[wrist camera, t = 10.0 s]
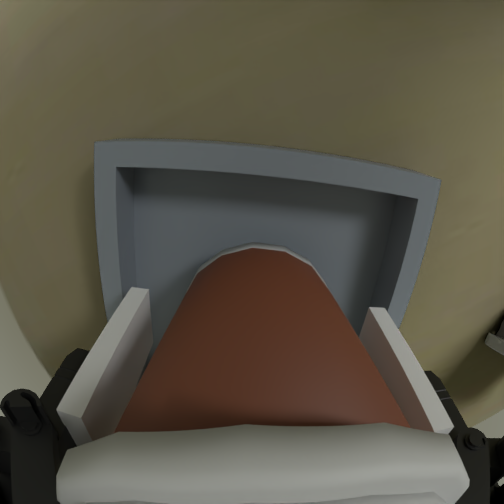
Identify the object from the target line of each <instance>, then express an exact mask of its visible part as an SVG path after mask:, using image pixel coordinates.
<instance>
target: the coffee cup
mask: <svg viewBox="0 0 504 504" xmlns="http://www.w3.org/2000/svg"><path fill="white" fill-rule="evenodd" d="M469 481H470V479H469V477H468V475H467V472H466V470H465V467H464V465H463V463H462V460H461V458H460V456H459V454H458V452H457V450H456V447H455V445H454V443H453V441H452V439H451V437H450V435H448V434H442V433H435V432H430V431H424V430H418V429H413V428H411V427H410V425H409V423H408V422H407V420H406V418H405V416H404V414H403V413H402V411H401V409H400V407H399V406H398V404H397V402H396V400H395V399H394V397H393V395H392V393H391V392H390V390H389V388H388V386H387V385H386V383H385V381H384V379H383V378H382V376H381V374H380V373H379V371H378V369H377V367H376V366H375V364H374V362H373V361H372V359H371V357H370V356H369V354H368V352H367V351H366V349H365V347H364V346H363V344H362V342H361V341H360V339H359V337H358V336H357V334H356V332H355V331H354V329H353V328H352V326H351V324H350V323H349V321H348V319H347V318H346V316H345V315H344V313H343V311H342V310H341V308H340V307H339V305H338V303H337V302H336V300H335V299H334V297H333V295H332V294H331V292H330V291H329V289H328V287H327V285H326V283H325V281H324V279H323V278H322V277H321V275H320V274H319V273H318V271H317V270H316V269H315V267H314V266H313V265H312V263H311V262H310V261H309V259H307V258H305V257H303V256H301V255H300V254H298V253H296V252H294V251H292V250H290V249H289V248H287V247H285V246H283V245H274V244H266V243H258V242H250V243H246V244H242V245H238V246H234V247H231V248H227V249H223V250H221V251H220V252H219V253H217V254H216V255H215V256H213V257H212V258H211V259H209V260H208V261H207V262H205V263H204V264H203V265H201V266H200V267H199V269H198V271H197V272H196V274H195V276H194V278H193V280H192V282H191V284H190V285H189V287H188V289H187V292H186V294H185V296H184V298H183V300H182V302H181V304H180V305H179V307H178V309H177V311H176V313H175V315H174V316H173V318H172V320H171V322H170V324H169V326H168V328H167V329H166V331H165V333H164V335H163V337H162V339H161V341H160V343H159V345H158V346H157V348H156V350H155V352H154V354H153V356H152V358H151V360H150V362H149V364H148V366H147V368H146V369H145V371H144V373H143V375H142V377H141V379H140V381H139V383H138V385H137V387H136V389H135V391H134V393H133V395H132V397H131V399H130V401H129V403H128V405H127V407H126V409H125V411H124V413H123V415H122V417H121V419H120V421H119V423H118V425H117V427H116V429H115V431H114V433H113V434H111V435H109V436H106V437H103V438H100V439H98V440H95V441H92V442H89V443H86V444H83V445H80V446H77V447H74V448H71V449H68V450H67V452H66V454H65V456H64V459H63V461H62V463H61V466H60V468H59V470H58V473H57V475H56V494H57V501H59V502H60V504H455V503H456V501H457V500H458V499H459V498H460V497H461V496H462V495H463V493H464V492H465V491H466V490H467V489H468V487H469Z"/></svg>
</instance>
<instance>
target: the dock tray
mask: <svg viewBox="0 0 504 504" xmlns="http://www.w3.org/2000/svg"><path fill="white" fill-rule="evenodd" d="M440 185H441V180H440V179H437V178H435V177H432V176H429V175H426V174H423V173H420V172H417V171H413V170H409V169H405V168H400V167H396V166H391V165H387V164H382V163H377V162H372V161H367V160H362V159H356V158H351V157H345V156H339V155H333V154H327V153H320V152H314V151H307V150H300V149H292V148H284V147H275V146H266V145H257V144H246V143H235V142H221V141H206V140H186V139H112V140H105V141H97V142H95V144H94V196H95V219H96V234H97V247H98V257H99V267H100V275H101V283H102V291H103V298H104V304H105V310H106V317H107V322H109V320H110V319H111V317H112V316H113V314H114V312H115V311H116V309H117V308H118V306H119V305H120V303H121V302H122V300H123V299H124V297H125V296H126V294H127V293H128V291H129V290H130V288H131V287H135V288H143V289H149V298H150V311H151V323H152V333H153V345H152V347H151V350H150V352H149V355H148V357H147V360H146V362H145V365H144V367H143V370H142V372H141V375H140V378H139V380H138V383H139V381H140V379H141V377H142V375H143V373H144V371H145V369H146V368H147V366H148V364H149V362H150V360H151V358H152V356H153V354H154V352H155V350H156V348H157V346H158V345H159V343H160V341H161V339H162V337H163V335H164V333H165V331H166V329H167V328H168V326H169V324H170V322H171V320H172V318H173V316H174V315H175V313H176V311H177V309H178V307H179V305H180V304H181V302H182V300H183V298H184V296H185V294H186V292H187V289H188V287H189V285H190V284H191V282H192V280H193V278H194V276H195V274H196V272H197V271H198V269H199V267H200V266H201V265H203V264H204V263H205V262H207V261H208V260H209V259H211V258H212V257H213V256H215V255H216V254H217V253H219V252H220V251H221V250H223V249H227V248H231V247H234V246H238V245H242V244H246V243H250V242H258V243H266V244H274V245H283V246H285V247H287V248H289V249H290V250H292V251H294V252H296V253H298V254H300V255H301V256H303V257H305V258H307V259H309V261H310V262H311V263H312V265H313V266H314V267H315V269H316V270H317V271H318V273H319V274H320V275H321V277H322V278H323V279H324V281H325V283H326V285H327V287H328V289H329V291H330V292H331V294H332V295H333V297H334V299H335V300H336V302H337V303H338V305H339V307H340V308H341V310H342V311H343V313H344V315H345V316H346V318H347V319H348V321H349V323H350V324H351V326H352V328H353V329H354V331H355V332H356V334H357V336H358V337H359V336H360V333H361V330H362V327H363V324H364V321H365V318H366V315H367V311H368V308H369V307H380V308H385V309H386V311H387V312H388V314H389V315H390V317H391V319H392V320H393V322H394V323H395V325H396V326H397V328H398V329H399V327H400V324H401V322H402V319H403V316H404V314H405V311H406V308H407V305H408V302H409V300H410V297H411V294H412V291H413V288H414V285H415V282H416V279H417V276H418V272H419V269H420V266H421V262H422V259H423V256H424V252H425V249H426V245H427V241H428V237H429V234H430V230H431V226H432V222H433V217H434V213H435V209H436V204H437V200H438V195H439V190H440ZM138 383H137V385H138ZM137 385H136V387H137ZM135 389H136V388H135Z"/></svg>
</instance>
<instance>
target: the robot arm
mask: <svg viewBox="0 0 504 504" xmlns="http://www.w3.org/2000/svg"><path fill="white" fill-rule="evenodd" d="M359 339H360V341H361V342H362V344H363V346H364V347H365V349H366V351H367V352H368V354H369V356H370V357H371V359H372V361H373V362H374V364H375V366H376V367H377V369H378V371H379V373H380V374H381V376H382V378H383V379H384V381H385V383H386V385H387V386H388V388H389V390H390V392H391V393H392V395H393V397H394V399H395V400H396V402H397V404H398V406H399V407H400V409H401V411H402V413H403V414H404V416H405V418H406V420H407V422H408V423H409V425H410V427H411V428H413V429H418V430H424V431H430V432H435V433H442V434H448V435H450V437H451V439H452V441H453V443H454V445H455V447H456V450H457V452H458V454H459V456H460V458H461V460H462V463H463V465H464V467H465V470H466V472H467V475H468V477H469V479H470V481H469V487H468V489H467V490H466V491H465V492H464V493H463V495H462V496H461V497H460V498H459V499H458V500H457V501H456V503H455V504H504V484H503V485H502V486H499V485H498V483H497V482H498V481H499V480H500V479H501V478H502V477H503V476H504V436H503V437H502V438H486V437H485V435H484V434H483V433H482V432H481V431H479V430H478V429H475V428H468V427H467V425H466V424H465V422H464V420H463V418H462V416H461V414H460V413H459V411H458V409H457V407H456V406H455V404H454V402H453V400H452V399H450V395H449V393H448V392H447V391H446V388H445V387H444V385H443V383H442V382H441V380H440V379H439V378H438V377H437V376H436V375H435V374H434V373H433V372H432V371H423V369H422V368H421V366H420V364H419V362H418V361H417V359H416V357H415V356H414V354H413V352H412V351H411V349H410V347H409V346H408V344H407V342H406V341H405V339H404V338H403V336H402V334H401V333H400V331H399V330H398V328H397V326H396V325H395V323H394V322H393V320H392V319H391V317H390V315H389V314H388V312H387V311H386V309H385V308H380V307H369V308H368V311H367V315H366V318H365V321H364V324H363V327H362V330H361V333H360V336H359ZM152 345H153V333H152V323H151V311H150V298H149V289H143V288H135V287H131V288H130V290H129V291H128V293H127V294H126V296H125V297H124V299H123V300H122V302H121V303H120V305H119V306H118V308H117V309H116V311H115V312H114V314H113V316H112V317H111V319H110V320H109V322H108V323H107V325H106V326H105V328H104V330H103V331H102V333H101V334H100V336H99V337H98V339H97V341H96V342H95V344H94V346H93V347H92V349H91V350H90V351H87V350H83V349H79V348H77V349H76V350H74V351H73V352H72V353H70V354H69V355H68V356H66V358H65V359H64V361H63V362H62V364H61V366H60V369H58V370H57V372H56V373H55V377H53V378H52V380H51V381H50V383H49V384H48V386H47V388H46V389H45V391H44V392H43V394H42V396H41V397H40V399H39V398H38V396H37V395H36V394H35V393H34V392H32V391H30V390H27V389H17V390H13V391H12V392H10V393H8V394H7V395H6V396H5V397H4V398H3V399H2V401H1V404H0V408H1V410H2V412H3V413H4V415H5V416H6V417H3V416H0V504H60V502H59V501H57V494H56V475H57V473H58V470H59V468H60V466H61V463H62V461H63V459H64V456H65V454H66V452H67V450H68V449H71V448H74V447H77V446H80V445H83V444H86V443H89V442H92V441H95V440H98V439H100V438H103V437H106V436H109V435H111V434H113V433H114V431H115V429H116V427H117V425H118V423H119V421H120V419H121V417H122V415H123V413H124V411H125V409H126V407H127V405H128V403H129V401H130V399H131V397H132V395H133V393H134V391H135V388H136V385H137V383H138V380H139V378H140V375H141V372H142V370H143V367H144V365H145V362H146V360H147V357H148V355H149V352H150V350H151V347H152Z"/></svg>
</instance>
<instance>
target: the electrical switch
mask: <svg viewBox="0 0 504 504" xmlns="http://www.w3.org/2000/svg"><path fill="white" fill-rule="evenodd" d="M485 344H486V345H487V346H489V347H490V348H491V349H493V350H495V351H497V352H499V353H500V354H502V355H504V320H503V322H502V324H501V327H500V330H499V331H498V332H497V334H496V335H494V334H491V333H489V332H488V335H487V338H486V340H485Z"/></svg>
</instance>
